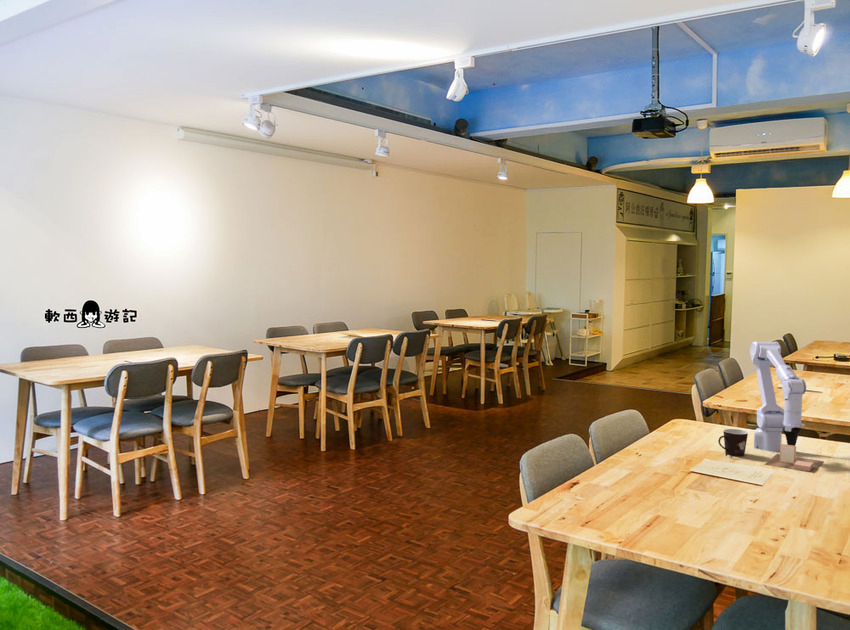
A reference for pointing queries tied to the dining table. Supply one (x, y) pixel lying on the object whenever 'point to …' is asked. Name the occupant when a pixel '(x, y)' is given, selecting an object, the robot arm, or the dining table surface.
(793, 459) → the tile left
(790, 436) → the robot arm
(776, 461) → the board
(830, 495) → the dining table surface
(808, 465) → the tile right
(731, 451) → the coffee mug
